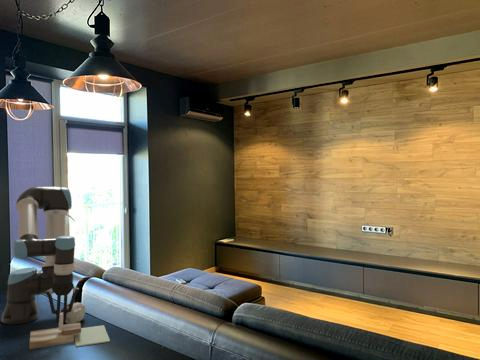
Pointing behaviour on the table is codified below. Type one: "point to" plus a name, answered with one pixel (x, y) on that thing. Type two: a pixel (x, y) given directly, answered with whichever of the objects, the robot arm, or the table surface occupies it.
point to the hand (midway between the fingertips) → (60, 329)
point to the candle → (75, 313)
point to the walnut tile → (71, 329)
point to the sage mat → (91, 336)
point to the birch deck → (49, 338)
